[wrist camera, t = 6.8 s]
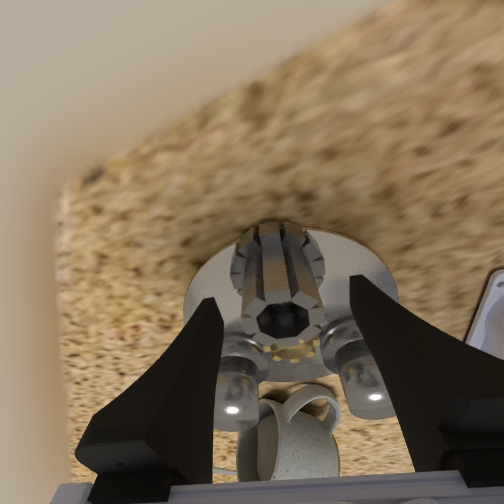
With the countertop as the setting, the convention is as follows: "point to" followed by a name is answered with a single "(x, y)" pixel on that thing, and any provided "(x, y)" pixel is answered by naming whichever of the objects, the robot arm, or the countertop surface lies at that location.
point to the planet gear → (279, 283)
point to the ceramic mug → (290, 440)
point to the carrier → (307, 353)
